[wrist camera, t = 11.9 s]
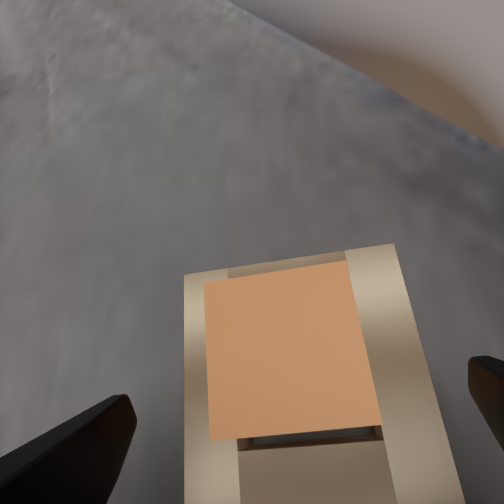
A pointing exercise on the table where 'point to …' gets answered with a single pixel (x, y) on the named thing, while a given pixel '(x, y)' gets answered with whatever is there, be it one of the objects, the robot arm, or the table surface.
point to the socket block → (336, 440)
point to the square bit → (286, 354)
